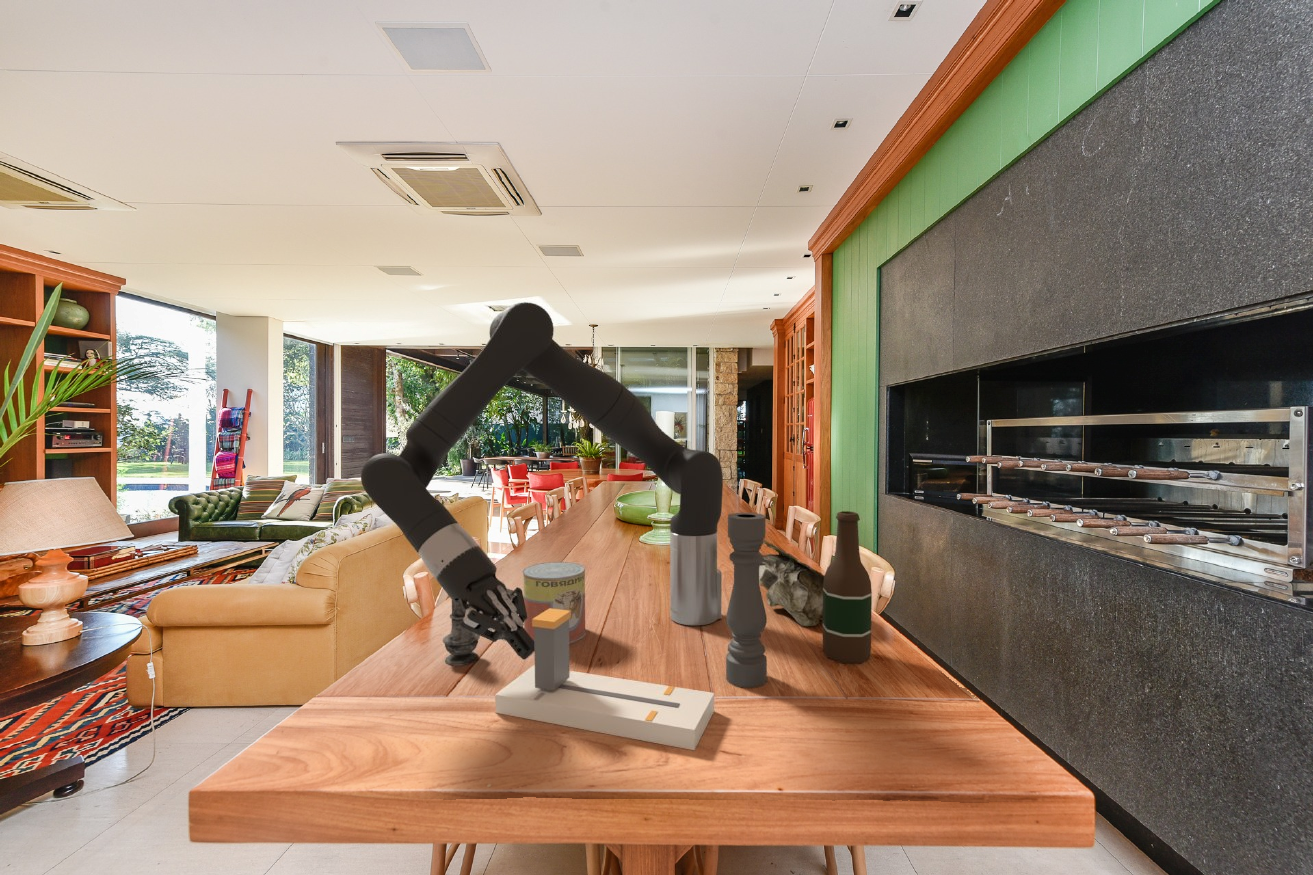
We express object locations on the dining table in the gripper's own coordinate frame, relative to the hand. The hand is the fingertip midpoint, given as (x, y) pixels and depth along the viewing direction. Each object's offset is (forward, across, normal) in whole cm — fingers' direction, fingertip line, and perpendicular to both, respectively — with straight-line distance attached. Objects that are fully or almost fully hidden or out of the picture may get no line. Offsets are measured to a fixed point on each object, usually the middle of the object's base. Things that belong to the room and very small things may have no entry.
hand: (531, 654), depth 85 cm
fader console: (+13, 0, -4) cm, 13 cm away
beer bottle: (+34, +30, -25) cm, 52 cm away
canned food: (-2, +23, +11) cm, 26 cm away
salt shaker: (-8, +8, +18) cm, 21 cm away
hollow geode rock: (+27, +54, -17) cm, 62 cm away
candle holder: (+24, +16, -15) cm, 33 cm away
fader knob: (+5, 0, 0) cm, 5 cm away
